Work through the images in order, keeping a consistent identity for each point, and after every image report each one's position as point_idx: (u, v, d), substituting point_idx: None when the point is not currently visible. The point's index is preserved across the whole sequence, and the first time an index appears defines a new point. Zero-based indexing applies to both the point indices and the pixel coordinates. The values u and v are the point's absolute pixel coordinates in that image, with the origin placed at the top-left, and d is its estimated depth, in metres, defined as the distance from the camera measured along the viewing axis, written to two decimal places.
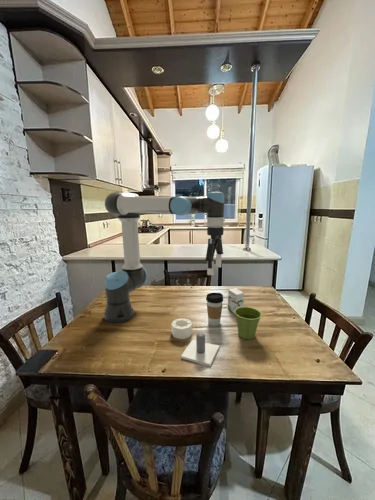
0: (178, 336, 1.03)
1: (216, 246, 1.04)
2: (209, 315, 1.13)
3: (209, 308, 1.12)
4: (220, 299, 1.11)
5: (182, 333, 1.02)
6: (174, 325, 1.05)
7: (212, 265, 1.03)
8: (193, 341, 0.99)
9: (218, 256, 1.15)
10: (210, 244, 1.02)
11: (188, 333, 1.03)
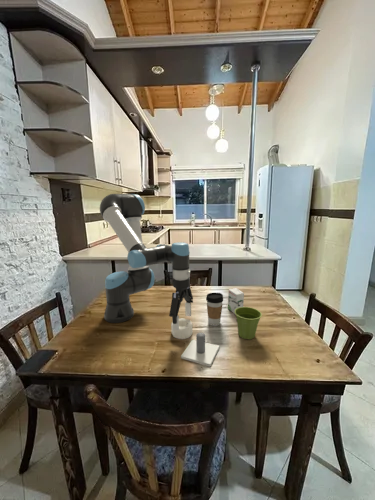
0: (178, 336, 1.03)
1: (181, 299, 0.99)
2: (209, 315, 1.13)
3: (209, 308, 1.12)
4: (220, 299, 1.11)
5: (182, 333, 1.02)
6: None
7: (177, 320, 0.98)
8: (193, 341, 0.99)
9: (187, 305, 1.10)
10: (174, 298, 0.97)
11: (188, 333, 1.03)
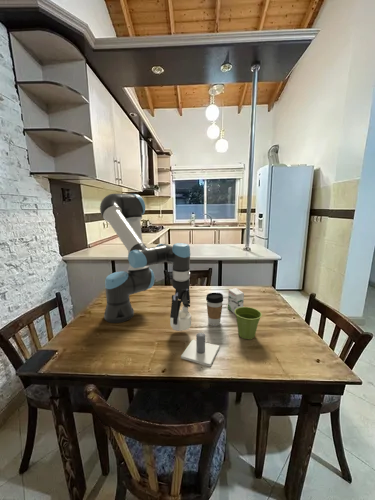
0: None
1: (181, 301, 1.01)
2: (209, 315, 1.13)
3: (209, 308, 1.12)
4: (220, 299, 1.11)
5: (181, 325, 1.02)
6: None
7: (178, 321, 1.01)
8: (193, 341, 0.99)
9: (184, 309, 1.10)
10: (174, 301, 0.98)
11: (187, 325, 1.03)
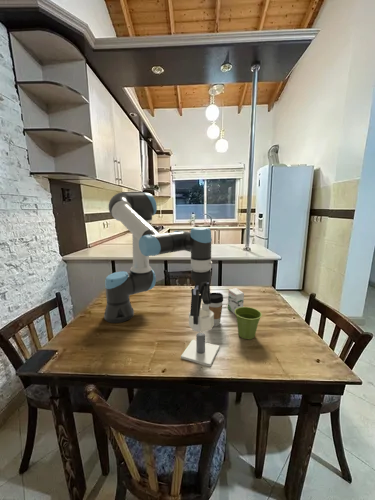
0: None
1: (202, 295, 0.84)
2: None
3: (209, 308, 1.12)
4: (220, 299, 1.11)
5: (203, 324, 0.85)
6: None
7: (199, 320, 0.84)
8: (193, 341, 0.99)
9: (205, 306, 0.93)
10: (194, 295, 0.82)
11: (210, 325, 0.86)
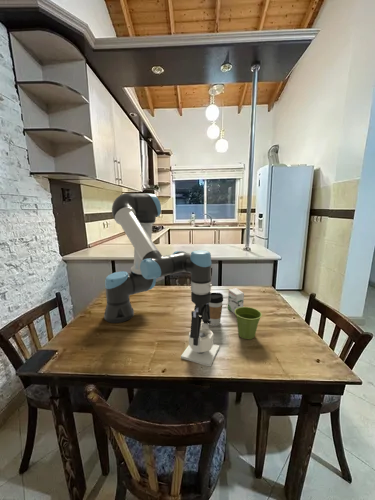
0: None
1: (202, 317, 0.86)
2: None
3: None
4: (220, 299, 1.11)
5: (202, 345, 0.87)
6: None
7: (198, 341, 0.86)
8: None
9: (204, 326, 0.95)
10: (194, 318, 0.84)
11: (209, 345, 0.88)
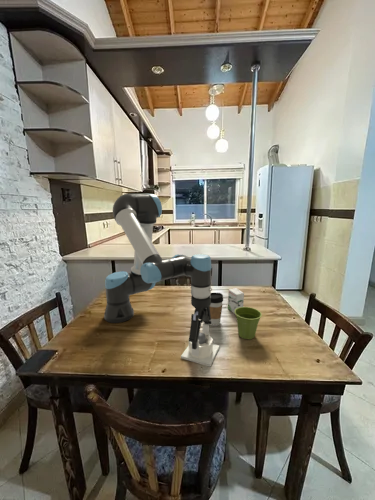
0: None
1: (202, 321, 0.86)
2: None
3: None
4: (220, 299, 1.11)
5: (202, 352, 0.88)
6: None
7: (197, 345, 0.86)
8: None
9: (205, 326, 0.96)
10: (193, 321, 0.84)
11: (209, 352, 0.89)
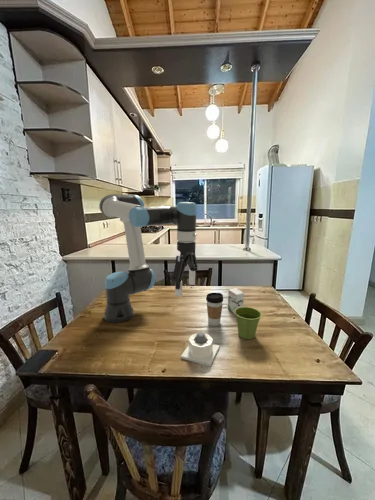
0: (197, 355, 0.89)
1: (186, 264, 0.92)
2: (209, 315, 1.13)
3: (209, 308, 1.12)
4: (220, 299, 1.11)
5: (202, 352, 0.88)
6: (192, 342, 0.90)
7: (180, 285, 0.91)
8: None
9: (191, 273, 1.03)
10: (178, 262, 0.89)
11: (209, 352, 0.89)
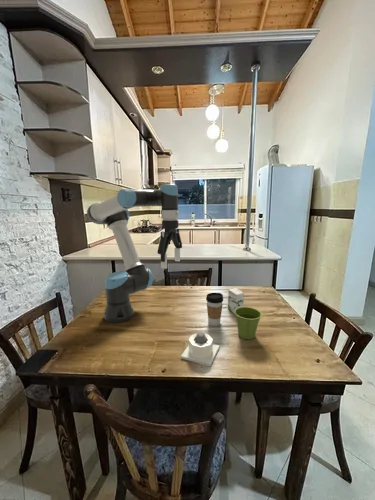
0: (197, 355, 0.89)
1: (170, 239, 1.03)
2: (209, 315, 1.13)
3: (209, 308, 1.12)
4: (220, 299, 1.11)
5: (202, 352, 0.88)
6: (192, 342, 0.90)
7: (165, 258, 1.02)
8: None
9: (176, 250, 1.14)
10: (162, 237, 1.00)
11: (209, 352, 0.89)
